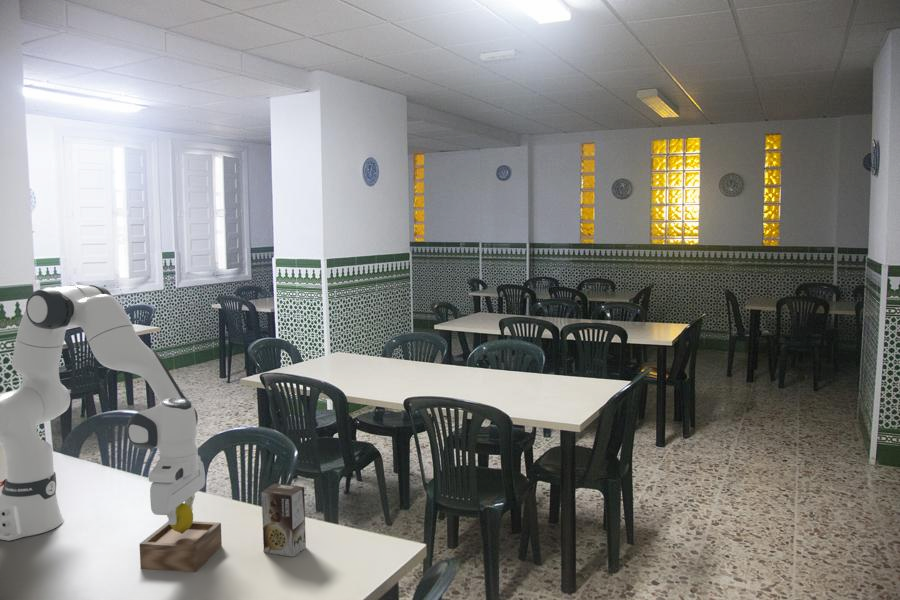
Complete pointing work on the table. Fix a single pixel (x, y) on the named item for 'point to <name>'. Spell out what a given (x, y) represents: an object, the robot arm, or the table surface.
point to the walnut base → (180, 547)
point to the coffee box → (283, 519)
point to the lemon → (183, 518)
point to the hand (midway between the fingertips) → (180, 518)
